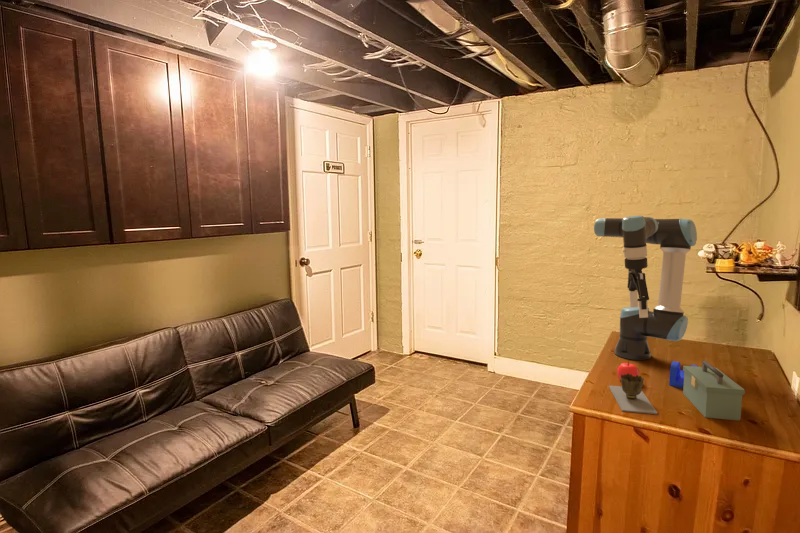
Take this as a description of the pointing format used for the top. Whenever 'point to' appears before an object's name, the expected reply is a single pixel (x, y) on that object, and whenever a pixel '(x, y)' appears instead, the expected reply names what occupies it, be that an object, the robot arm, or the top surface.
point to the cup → (631, 385)
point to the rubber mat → (632, 402)
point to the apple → (627, 369)
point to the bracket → (677, 375)
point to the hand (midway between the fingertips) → (638, 312)
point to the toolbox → (712, 392)
